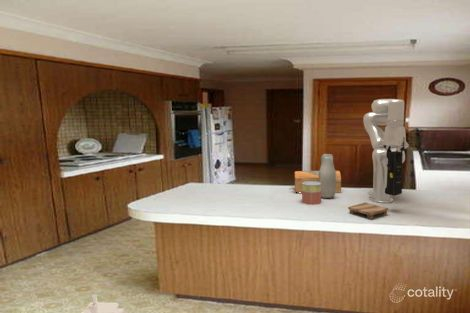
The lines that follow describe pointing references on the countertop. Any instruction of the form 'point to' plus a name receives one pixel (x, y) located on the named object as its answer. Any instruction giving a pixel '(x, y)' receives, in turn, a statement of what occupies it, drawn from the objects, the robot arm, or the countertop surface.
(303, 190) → the canned food
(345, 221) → the countertop surface
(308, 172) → the wooden box
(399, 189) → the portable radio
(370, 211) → the stand
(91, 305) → the bracket
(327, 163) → the grey bottle
